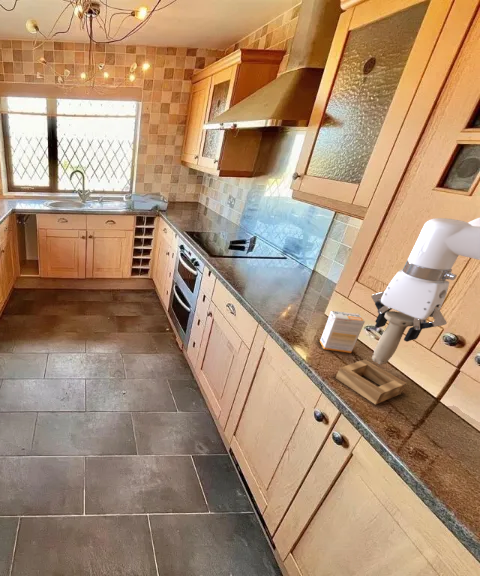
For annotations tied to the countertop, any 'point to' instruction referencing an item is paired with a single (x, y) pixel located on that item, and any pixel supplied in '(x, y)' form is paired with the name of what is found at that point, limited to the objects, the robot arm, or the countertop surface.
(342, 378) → the socket block
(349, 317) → the supplement box
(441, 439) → the countertop surface
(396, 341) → the handle
